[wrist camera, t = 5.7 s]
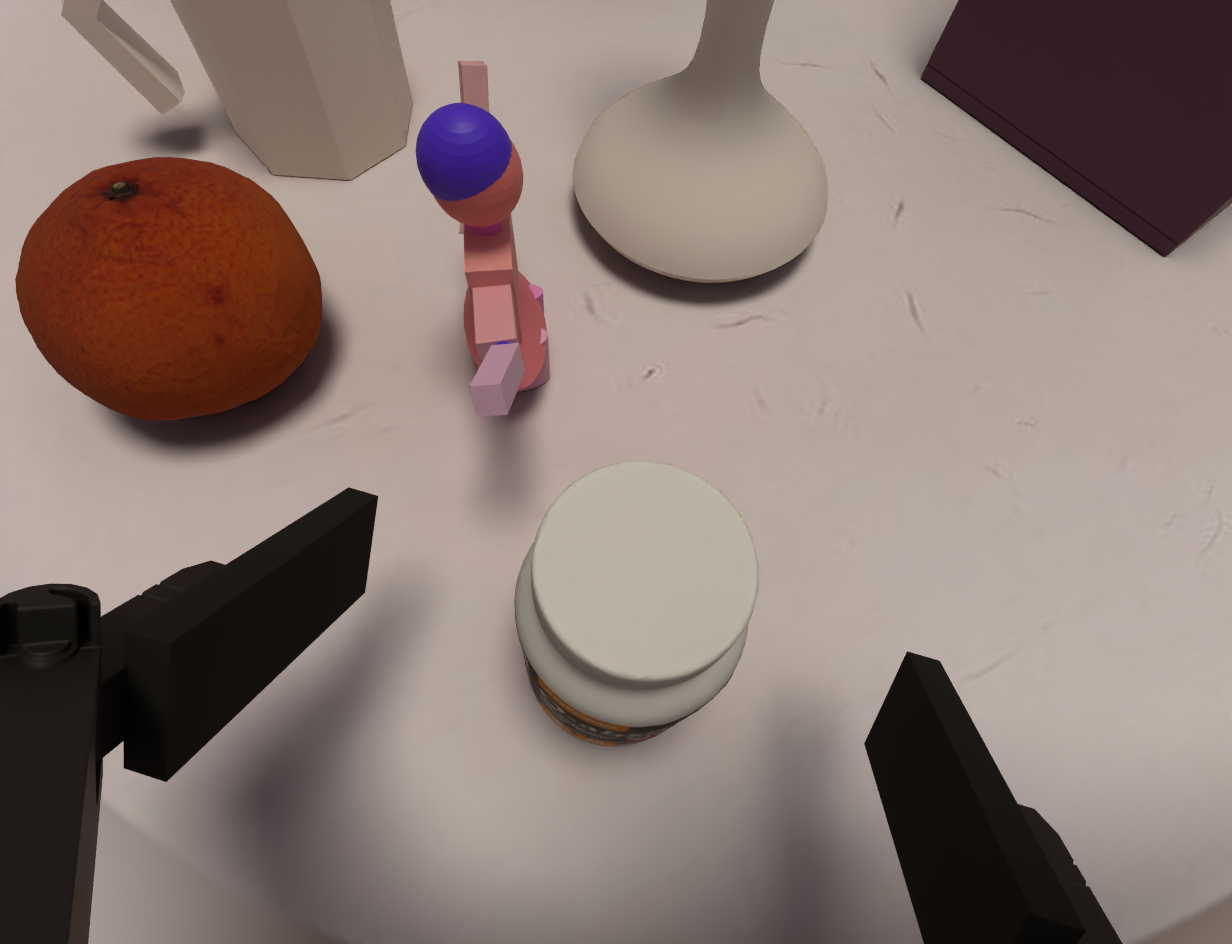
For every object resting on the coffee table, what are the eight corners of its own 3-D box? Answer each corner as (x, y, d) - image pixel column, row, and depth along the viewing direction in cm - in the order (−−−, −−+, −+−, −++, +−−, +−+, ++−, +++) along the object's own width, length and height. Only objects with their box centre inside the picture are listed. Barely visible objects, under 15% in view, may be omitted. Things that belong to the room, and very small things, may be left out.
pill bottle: (533, 758, 21) (509, 731, 12) (522, 580, 23) (495, 447, 14) (711, 736, 22) (814, 694, 13) (683, 565, 24) (752, 428, 15)
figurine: (486, 527, 24) (428, 337, 14) (452, 270, 29) (392, -7, 19) (579, 512, 25) (587, 318, 15) (530, 261, 30) (512, -12, 19)
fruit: (288, 236, 29) (197, 53, 22) (382, 381, 26) (313, 227, 19) (73, 323, 27) (-110, 148, 19) (151, 495, 24) (-29, 365, 17)
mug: (393, 50, 35) (335, -201, 26) (434, 163, 32) (383, -81, 23) (144, 90, 33) (-13, -173, 24) (160, 217, 29) (-16, -34, 20)
